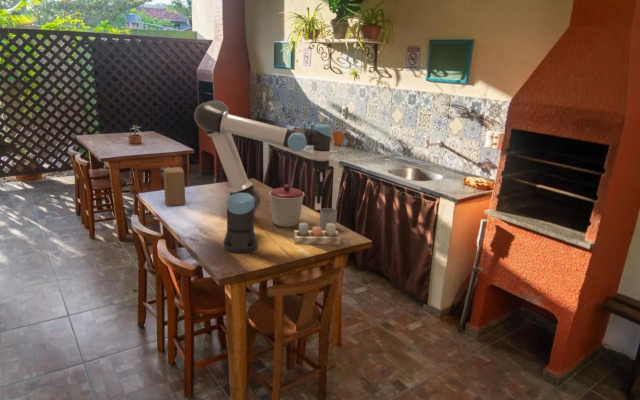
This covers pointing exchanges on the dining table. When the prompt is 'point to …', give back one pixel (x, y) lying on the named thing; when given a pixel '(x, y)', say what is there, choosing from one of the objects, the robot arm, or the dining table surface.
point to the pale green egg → (330, 229)
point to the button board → (316, 238)
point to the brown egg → (317, 231)
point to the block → (174, 186)
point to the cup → (327, 217)
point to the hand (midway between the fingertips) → (317, 209)
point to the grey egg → (303, 229)
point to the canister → (286, 205)
